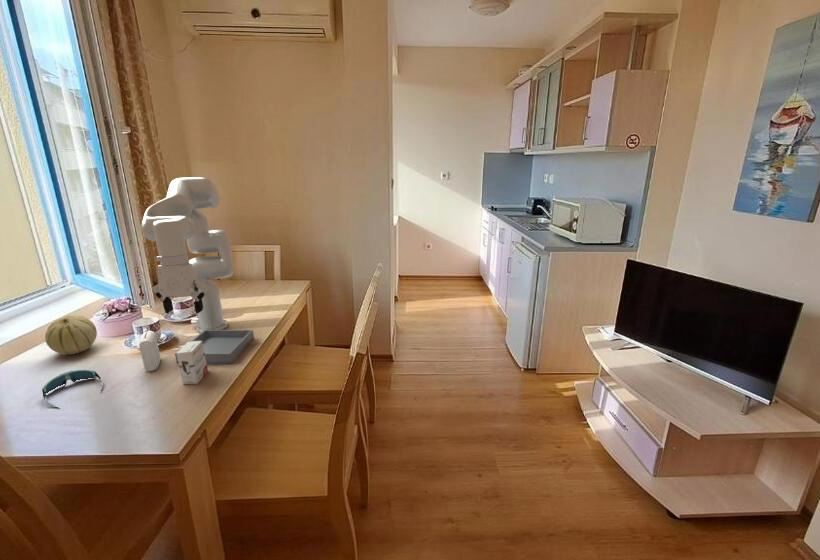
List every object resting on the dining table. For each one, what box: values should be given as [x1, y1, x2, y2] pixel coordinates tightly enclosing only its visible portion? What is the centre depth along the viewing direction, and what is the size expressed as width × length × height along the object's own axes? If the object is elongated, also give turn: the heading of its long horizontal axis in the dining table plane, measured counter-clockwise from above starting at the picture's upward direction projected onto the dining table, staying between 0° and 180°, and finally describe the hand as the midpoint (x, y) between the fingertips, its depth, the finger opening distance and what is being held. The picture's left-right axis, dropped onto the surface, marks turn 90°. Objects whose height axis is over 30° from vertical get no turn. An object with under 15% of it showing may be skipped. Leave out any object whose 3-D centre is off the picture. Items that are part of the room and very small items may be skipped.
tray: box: [174, 329, 255, 365], centre depth 147 cm, size 20×20×4 cm
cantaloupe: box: [44, 314, 98, 355], centre depth 145 cm, size 15×15×15 cm
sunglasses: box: [41, 368, 104, 407], centre depth 122 cm, size 14×15×5 cm
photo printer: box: [138, 330, 162, 372], centre depth 136 cm, size 10×4×12 cm, turn 26°
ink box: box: [175, 340, 209, 385], centre depth 128 cm, size 9×5×12 cm, turn 5°
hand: (184, 311), depth 123 cm, fingers open, 9 cm apart
